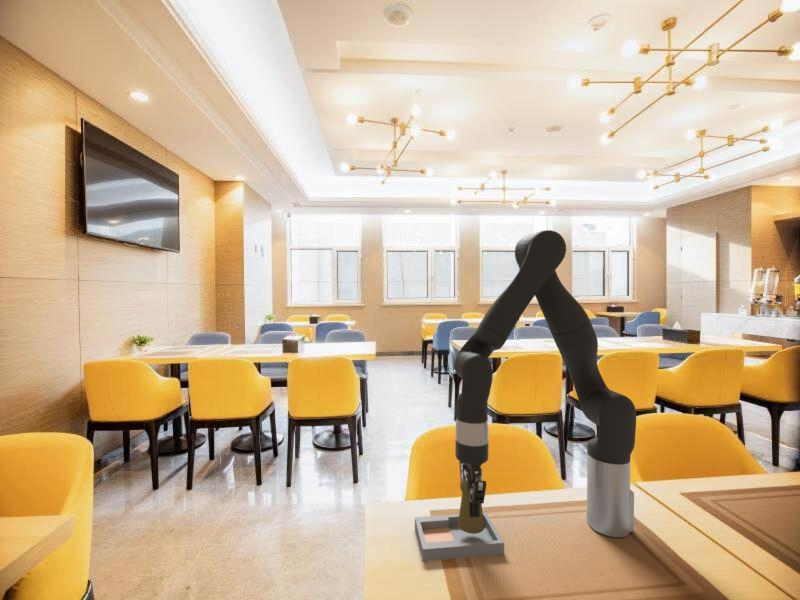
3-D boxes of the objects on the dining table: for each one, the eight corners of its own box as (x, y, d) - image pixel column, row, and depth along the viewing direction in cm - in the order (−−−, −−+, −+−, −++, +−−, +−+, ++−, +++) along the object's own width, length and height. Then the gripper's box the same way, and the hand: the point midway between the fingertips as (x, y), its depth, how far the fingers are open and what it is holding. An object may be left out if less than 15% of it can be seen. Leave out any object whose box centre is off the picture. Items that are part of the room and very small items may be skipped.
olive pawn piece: (484, 535, 84) (485, 486, 84) (457, 531, 85) (457, 483, 85) (484, 519, 90) (484, 473, 89) (458, 516, 91) (458, 471, 91)
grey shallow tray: (486, 522, 94) (486, 512, 94) (504, 554, 82) (504, 542, 82) (414, 527, 92) (414, 517, 92) (422, 561, 80) (422, 549, 80)
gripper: (498, 450, 80) (498, 529, 81) (478, 426, 94) (477, 494, 95) (464, 451, 80) (464, 532, 80) (448, 427, 94) (448, 496, 94)
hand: (471, 511), depth 87 cm, fingers closed on olive pawn piece, 4 cm apart
